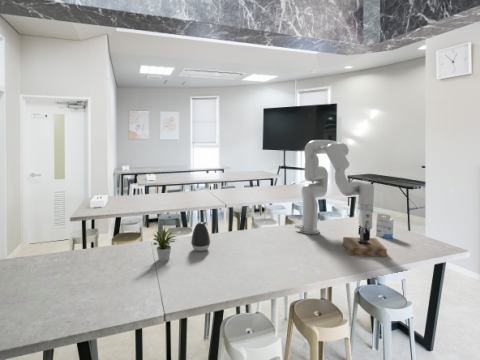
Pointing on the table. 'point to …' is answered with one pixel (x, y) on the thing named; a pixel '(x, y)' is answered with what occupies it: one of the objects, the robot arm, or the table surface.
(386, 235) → the ink box
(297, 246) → the table surface
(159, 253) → the house plant
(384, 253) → the socket
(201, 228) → the dark grey egg shape
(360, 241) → the peg
